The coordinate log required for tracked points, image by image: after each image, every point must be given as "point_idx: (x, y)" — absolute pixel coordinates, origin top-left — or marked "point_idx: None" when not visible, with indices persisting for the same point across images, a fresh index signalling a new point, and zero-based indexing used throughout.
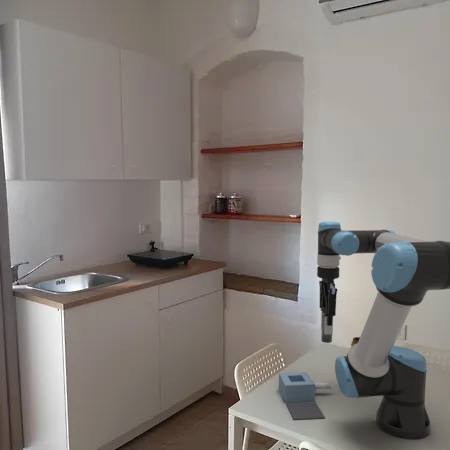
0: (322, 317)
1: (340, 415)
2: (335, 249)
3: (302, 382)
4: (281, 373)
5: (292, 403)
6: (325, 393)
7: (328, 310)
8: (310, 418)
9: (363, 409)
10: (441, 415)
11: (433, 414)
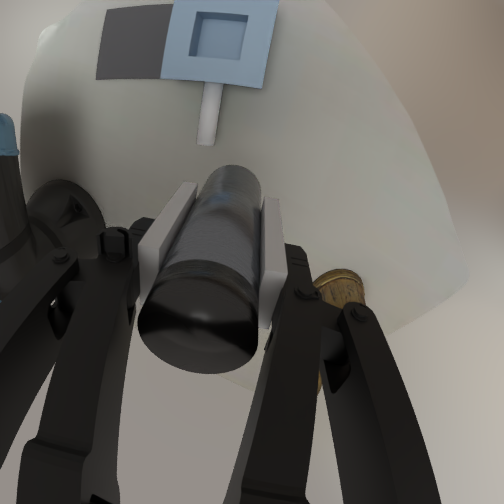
0: (207, 229)
1: (103, 119)
2: None
3: (182, 44)
4: (272, 4)
5: None
6: None
7: (28, 280)
8: (100, 46)
9: (121, 183)
10: None
11: None
